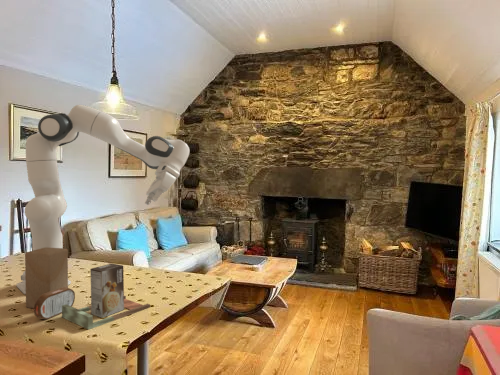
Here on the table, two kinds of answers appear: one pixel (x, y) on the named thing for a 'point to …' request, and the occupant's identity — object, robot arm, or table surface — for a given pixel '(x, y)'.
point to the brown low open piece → (87, 320)
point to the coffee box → (107, 290)
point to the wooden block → (45, 272)
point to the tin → (53, 302)
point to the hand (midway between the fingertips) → (150, 202)
